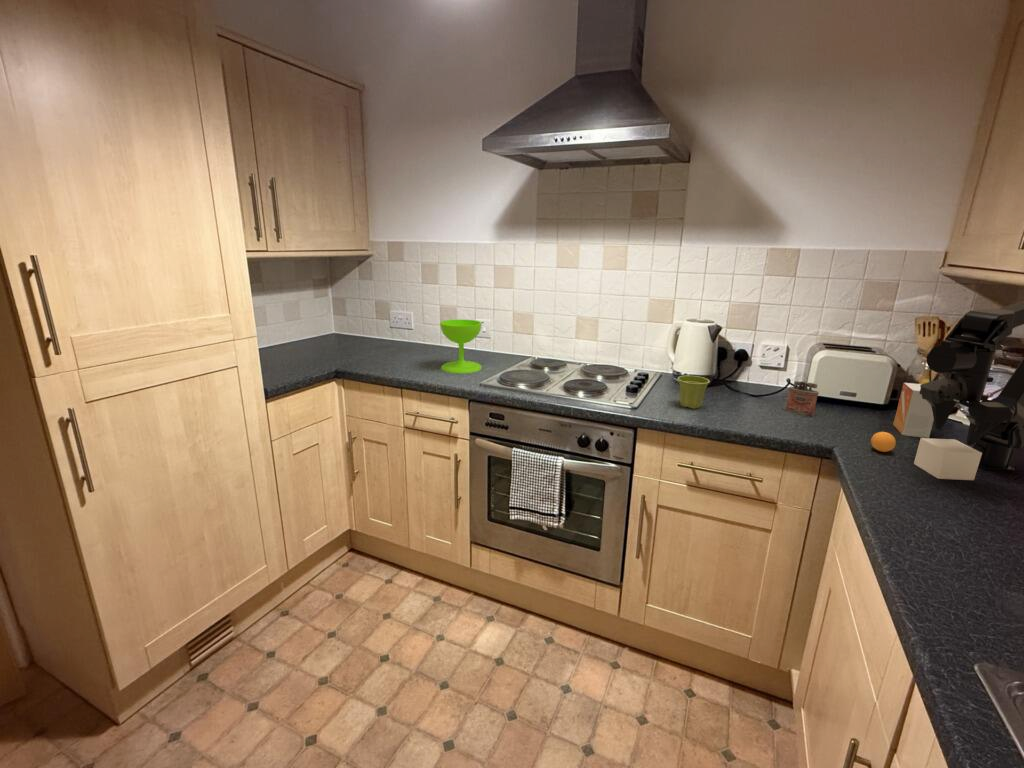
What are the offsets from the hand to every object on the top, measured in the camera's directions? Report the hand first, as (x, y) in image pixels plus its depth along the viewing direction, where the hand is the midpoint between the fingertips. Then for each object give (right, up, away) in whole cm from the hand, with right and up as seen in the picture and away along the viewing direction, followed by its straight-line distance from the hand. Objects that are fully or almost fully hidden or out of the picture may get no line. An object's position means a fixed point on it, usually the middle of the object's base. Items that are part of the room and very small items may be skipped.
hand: (953, 436), depth 114 cm
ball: (-6, -3, +13) cm, 14 cm away
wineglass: (-120, +18, +85) cm, 148 cm away
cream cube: (0, -8, +2) cm, 9 cm away
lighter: (-12, +3, +41) cm, 42 cm away
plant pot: (-43, +5, +45) cm, 63 cm away
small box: (+11, -2, +27) cm, 29 cm away
